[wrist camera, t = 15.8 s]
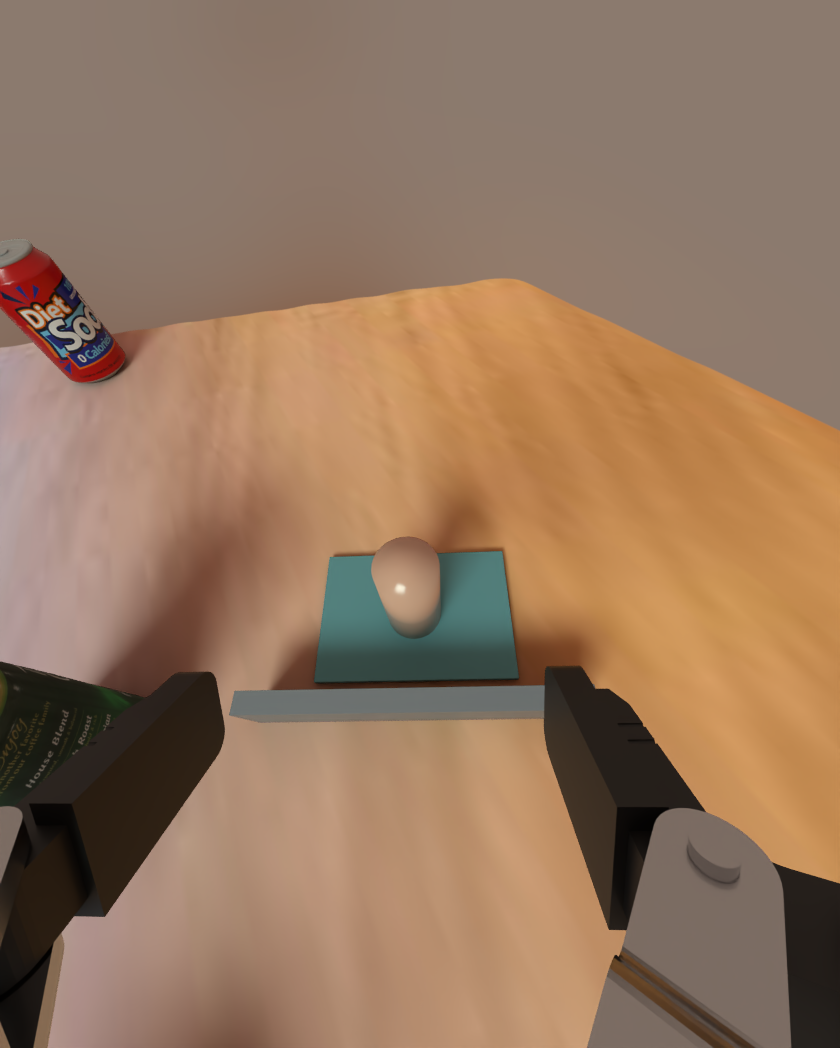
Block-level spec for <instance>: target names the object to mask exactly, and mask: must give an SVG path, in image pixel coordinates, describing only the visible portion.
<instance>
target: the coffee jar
mask: <svg viewBox="0 0 840 1048" xmlns="http://www.w3.org/2000/svg"><path fill="white" fill-rule="evenodd" d="M143 699H145V698H144V697H140V696H137V695H133V694H129V693H126V692H122V691H118V690H113V689H109V688H105V687H101V686H96V685H92V684H88V683H85V682H81V681H77V680H73V679H70V678H66V677H62V676H58V675H55V674H51V673H46V672H42V671H38V670H35V669H31V668H26V667H22V666H17V665H13V664H9V663H5V662H0V807H3V806H11V807H14V806H15V805H16V804H17V803H18V802H20V801H21V800H22V799H23V798H24V797H25V796H27V795H28V794H29V793H30V792H31V791H32V790H33V789H35V788H36V787H37V786H38V785H39V784H40V783H42V782H43V781H44V780H45V779H46V778H47V777H49V776H50V775H51V774H52V773H53V772H54V771H55V770H57V769H58V768H59V767H60V766H61V765H62V764H64V763H65V762H66V761H67V760H68V759H69V758H70V757H72V756H73V755H74V754H75V753H76V752H77V751H79V750H80V749H81V748H82V747H83V746H87V745H88V742H89V741H90V740H91V739H92V738H94V737H95V736H96V735H97V734H98V733H99V732H101V731H105V729H106V726H107V725H109V724H110V723H111V722H112V721H113V720H114V719H116V718H117V717H118V716H119V715H120V714H121V713H122V712H124V711H125V710H126V709H128V708H129V707H131V706H133V705H134V704H136V703H138V702H140V701H141V700H143Z"/></svg>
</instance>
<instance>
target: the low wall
mask: <svg viewBox="0 0 840 1048" xmlns="http://www.w3.org/2000/svg"><path fill="white" fill-rule="evenodd" d="M593 686H594V687H595V685H594V684H593ZM544 689H545V685H535V686H480V687H425V688H370V689H315V690H260V691H235V692H234V696H233V701H232V705H231V709H230V714H229V715H230V716H234V717H238V718H243V719H247V720H251V721H256V722H260V723H265V722H336V721H406V720H477V719H544Z"/></svg>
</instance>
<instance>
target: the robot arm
mask: <svg viewBox="0 0 840 1048" xmlns="http://www.w3.org/2000/svg"><path fill="white" fill-rule="evenodd" d="M224 733H225V727H224V720H223V715H222V709H221V704H220V698H219V693H218V687H217V682H216V678H215V676H214V674H213V673H211V672H178V673H176V674H174V675H173V676H171V677H170V678H169V679H168V680H167V681H166V682H165V683H164V684H162V685H161V686H160V687H159V688H158V689H157V690H156V691H155V692H153V693H152V694H151V695H150V696H148V697H146V698H145V699H143V700H141V701H140V702H138V703H136V704H134V705H133V706H131V707H129V708H128V709H126V710H125V711H124V712H122V713H121V714H120V715H119V716H118V717H117V718H116V719H114V720H113V721H112V722H111V723H110V724H109V725H107V726H106V729H105V731H101V732H99V733H98V734H97V735H96V736H95V737H94V738H92V739H91V740H90V741H89V742H88V745H87V746H83V747H82V748H81V749H80V750H79V751H77V752H76V753H75V754H74V755H73V756H72V757H70V758H69V759H68V760H67V761H66V762H65V763H64V764H62V765H61V766H60V767H59V768H58V769H57V770H55V771H54V772H53V773H52V774H51V775H50V776H49V777H47V778H46V779H45V780H44V781H43V782H42V783H40V784H39V785H38V786H37V787H36V788H35V789H33V790H32V791H31V792H30V793H29V794H28V795H27V796H25V797H24V798H23V799H22V800H21V801H20V802H18V803H17V804H16V805H15V806H14V807H11V806H3V807H0V1048H47V1047H48V1041H49V1035H50V1030H51V1024H52V1018H53V1012H54V1006H55V1000H56V994H57V988H58V982H59V977H60V971H61V965H62V959H63V953H64V940H63V937H62V934H61V932H62V931H63V930H64V929H65V927H66V926H67V925H68V923H69V922H70V921H71V919H72V918H73V917H74V916H92V917H105V916H106V914H107V913H108V912H109V910H110V909H111V907H112V906H113V904H114V903H115V902H116V900H117V899H118V897H119V896H120V894H121V893H122V892H123V890H124V889H125V887H126V886H127V884H128V883H129V882H130V880H131V879H132V877H133V876H134V874H135V873H136V872H137V870H138V869H139V867H140V866H141V864H142V863H143V862H144V860H145V859H146V857H147V856H148V854H149V853H150V852H151V850H152V849H153V847H154V846H155V844H156V843H157V842H158V840H159V839H160V837H161V836H162V834H163V833H164V831H165V830H166V829H167V827H168V826H169V824H170V823H171V821H172V820H173V819H174V817H175V816H176V814H177V813H178V811H179V810H180V809H181V807H182V806H183V804H184V803H185V801H186V800H187V799H188V797H189V796H190V794H191V793H192V791H193V790H194V789H195V787H196V786H197V784H198V783H199V781H200V780H201V779H202V777H203V776H204V774H205V773H206V771H207V770H208V769H209V767H210V766H211V764H212V763H213V761H214V760H215V759H216V757H217V756H218V754H219V752H220V750H221V747H222V744H223V740H224ZM544 734H545V741H546V746H547V751H548V754H549V758H550V760H551V763H552V766H553V769H554V772H555V775H556V778H557V781H558V784H559V787H560V789H561V792H562V795H563V798H564V801H565V804H566V807H567V810H568V813H569V816H570V818H571V821H572V824H573V827H574V830H575V833H576V836H577V839H578V842H579V845H580V848H581V850H582V853H583V856H584V859H585V862H586V865H587V868H588V871H589V874H590V877H591V879H592V882H593V885H594V888H595V891H596V894H597V897H598V900H599V903H600V906H601V909H602V911H603V914H604V917H605V920H606V923H607V926H608V929H609V930H627V931H626V935H625V939H624V943H623V946H622V950H621V953H620V955H619V957H618V956H617V955H615V956H614V958H613V960H612V962H611V965H610V968H609V971H608V974H607V977H606V981H605V984H604V988H603V991H602V995H601V999H600V1002H599V1006H598V1010H597V1013H596V1017H595V1021H594V1024H593V1028H592V1031H591V1035H590V1039H589V1042H588V1046H587V1048H840V884H839V883H836V882H832V881H829V880H826V879H822V878H819V877H815V876H812V875H809V874H805V873H802V872H798V871H795V870H792V869H789V868H786V867H783V866H780V865H777V864H775V863H773V862H771V861H770V859H769V858H768V857H767V855H766V854H765V853H764V852H763V851H762V849H761V848H760V847H759V846H758V845H757V844H756V843H755V842H754V841H753V840H751V839H750V838H749V837H748V836H747V835H746V834H744V833H743V832H742V831H740V830H739V829H738V828H736V827H734V826H733V825H731V824H730V823H728V822H726V821H724V820H722V819H720V818H719V817H716V816H714V815H711V814H709V813H706V811H705V810H704V808H703V807H702V806H701V804H700V803H699V801H698V800H697V799H696V797H695V796H694V794H693V793H692V792H691V790H690V789H689V787H688V786H687V785H686V783H685V782H684V780H683V779H682V778H681V776H680V775H679V773H678V772H677V771H676V769H675V768H674V766H673V765H672V764H671V762H670V761H669V759H668V758H667V756H666V755H665V754H664V752H663V751H662V749H661V748H660V747H659V745H658V744H655V741H654V738H653V737H652V735H651V734H650V733H649V731H648V730H647V728H646V727H643V723H642V721H641V720H640V719H639V717H638V716H637V714H636V713H635V712H634V710H633V709H632V707H631V706H630V705H629V704H628V703H627V702H626V701H624V700H623V699H622V698H620V697H619V696H618V695H616V694H615V693H614V692H612V691H611V690H610V689H595V687H594V686H593V684H592V683H591V681H590V679H589V678H588V676H587V674H586V673H585V671H584V670H583V668H582V667H581V666H547V667H546V670H545V689H544Z"/></svg>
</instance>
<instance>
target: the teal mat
mask: <svg viewBox="0 0 840 1048" xmlns="http://www.w3.org/2000/svg"><path fill="white" fill-rule="evenodd" d="M436 554H437V556H438V559H439V563H440V597H441V617H440V621H439V623H438V625H437V627H436V628H435V630H434V631H433V632H431V633H430V634H429V635H427V636H425V637H423V638H418V639H409V638H405V637H403V636H401V635H399V634H398V633H397V632H396V631H395V630H394V629H393V628H392V626H391V624H390V622H389V619H388V617H387V614H386V612H385V609H384V606H383V604H382V601H381V599H380V596H379V593H378V591H377V588H376V585H375V583H374V580H373V577H372V573H371V566H372V561H373V558H374V556H349V557H330V560H329V568H328V576H327V584H326V591H325V599H324V607H323V615H322V623H321V630H320V638H319V646H318V654H317V662H316V669H315V677H314V682H315V683H360V682H413V681H465V680H518V679H519V674H518V667H517V659H516V652H515V644H514V637H513V629H512V622H511V614H510V607H509V599H508V592H507V584H506V577H505V569H504V562H503V554H502V551H492V552H463V553H436Z"/></svg>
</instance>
